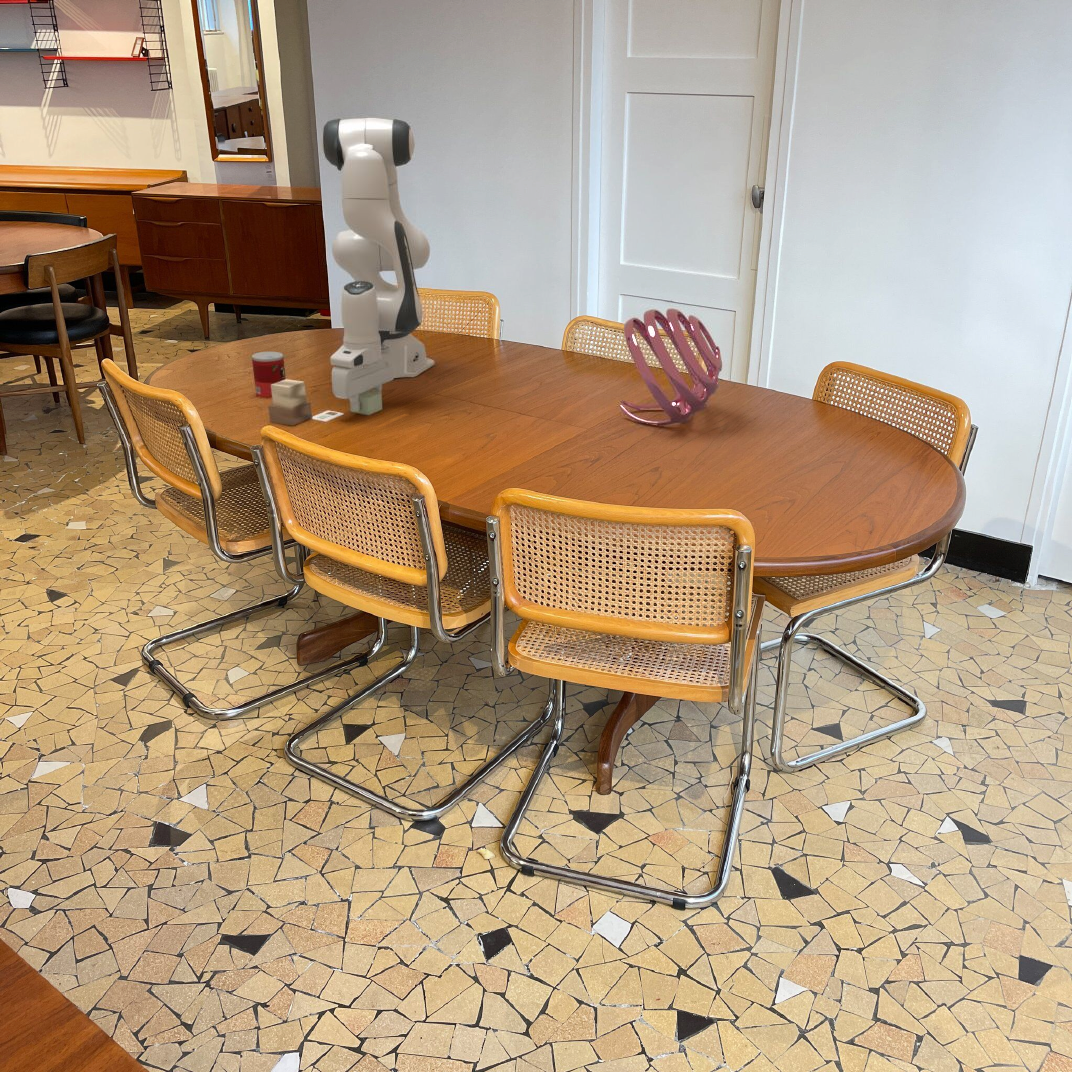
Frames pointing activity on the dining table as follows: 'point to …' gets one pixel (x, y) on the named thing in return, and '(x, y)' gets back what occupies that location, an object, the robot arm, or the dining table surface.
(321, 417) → the board
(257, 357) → the canned food
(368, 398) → the sage cube
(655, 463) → the dining table surface
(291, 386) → the birch cube
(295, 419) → the walnut base
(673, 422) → the spiral basket
